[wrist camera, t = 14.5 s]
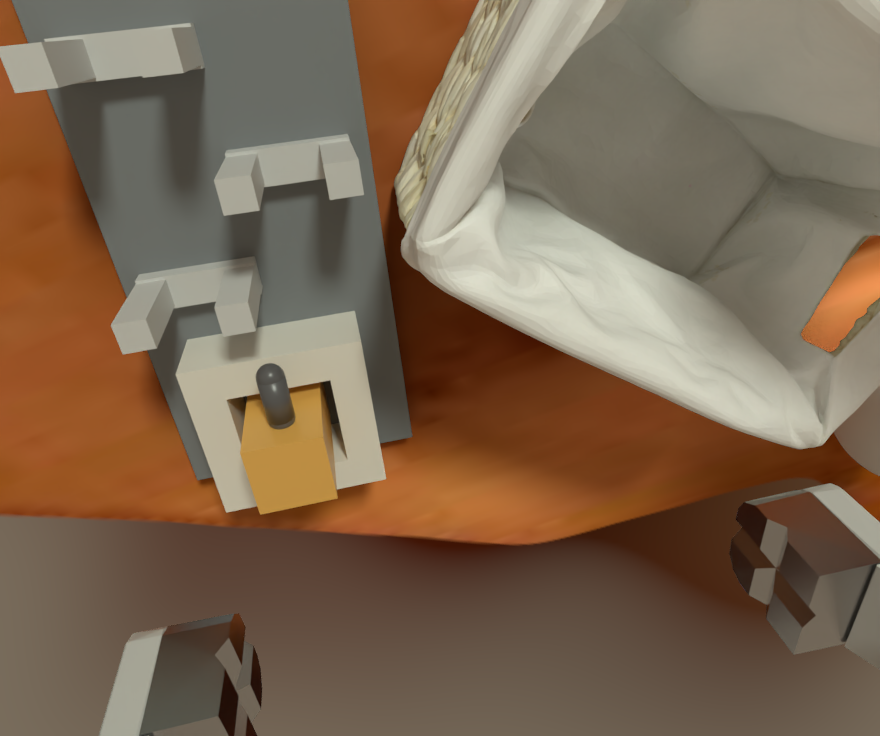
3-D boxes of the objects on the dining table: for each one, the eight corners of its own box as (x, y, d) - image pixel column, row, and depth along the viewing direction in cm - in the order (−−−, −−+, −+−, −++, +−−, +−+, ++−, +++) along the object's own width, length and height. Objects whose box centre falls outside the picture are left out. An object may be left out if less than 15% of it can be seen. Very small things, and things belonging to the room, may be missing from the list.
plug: (306, 308, 35) (309, 377, 28) (330, 414, 39) (337, 498, 32) (235, 320, 35) (220, 394, 28) (266, 426, 38) (260, 514, 31)
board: (312, -219, 26) (318, -299, 19) (408, 424, 42) (429, 496, 36) (-50, -196, 24) (-177, -276, 17) (200, 465, 40) (182, 549, 34)
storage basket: (356, 186, 34) (392, 283, 21) (506, -133, 28) (675, -257, 16) (664, 339, 43) (815, 470, 31) (823, 122, 38) (1087, 173, 25)
